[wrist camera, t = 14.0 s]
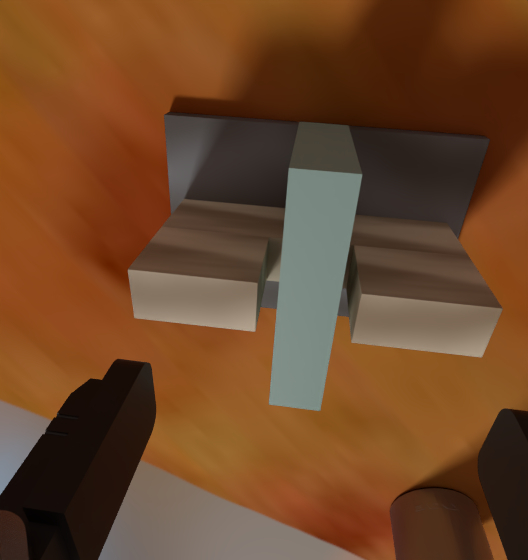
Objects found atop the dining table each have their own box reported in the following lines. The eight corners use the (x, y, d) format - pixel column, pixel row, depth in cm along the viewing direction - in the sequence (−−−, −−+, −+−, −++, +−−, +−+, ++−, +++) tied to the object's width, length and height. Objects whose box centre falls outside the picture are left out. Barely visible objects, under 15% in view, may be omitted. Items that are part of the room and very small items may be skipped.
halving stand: (426, 317, 33) (468, 432, 24) (180, 291, 34) (128, 389, 25) (484, 135, 26) (577, 197, 16) (169, 111, 27) (89, 156, 18)
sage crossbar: (320, 311, 33) (320, 410, 24) (282, 307, 33) (268, 404, 24) (348, 125, 25) (362, 174, 17) (299, 121, 26) (288, 168, 17)
